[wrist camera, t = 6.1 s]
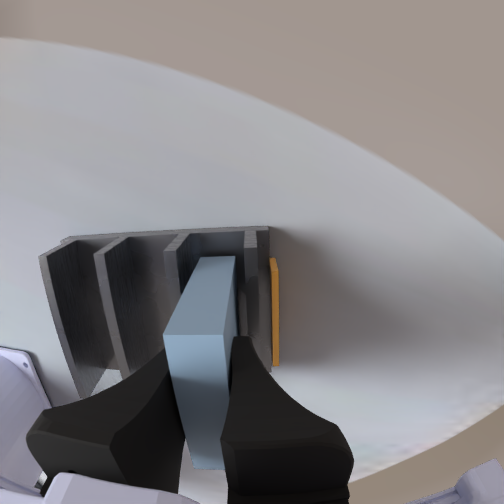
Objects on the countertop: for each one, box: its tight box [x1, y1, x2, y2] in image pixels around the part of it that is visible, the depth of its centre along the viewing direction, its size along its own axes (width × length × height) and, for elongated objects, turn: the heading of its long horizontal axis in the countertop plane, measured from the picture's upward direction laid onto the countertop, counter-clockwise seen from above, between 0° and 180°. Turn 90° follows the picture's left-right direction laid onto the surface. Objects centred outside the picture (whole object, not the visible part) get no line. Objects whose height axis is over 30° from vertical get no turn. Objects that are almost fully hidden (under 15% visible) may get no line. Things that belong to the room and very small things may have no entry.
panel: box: [163, 256, 240, 470], centre depth 12 cm, size 6×2×7 cm, turn 2°
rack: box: [38, 226, 279, 399], centre depth 15 cm, size 8×11×4 cm
